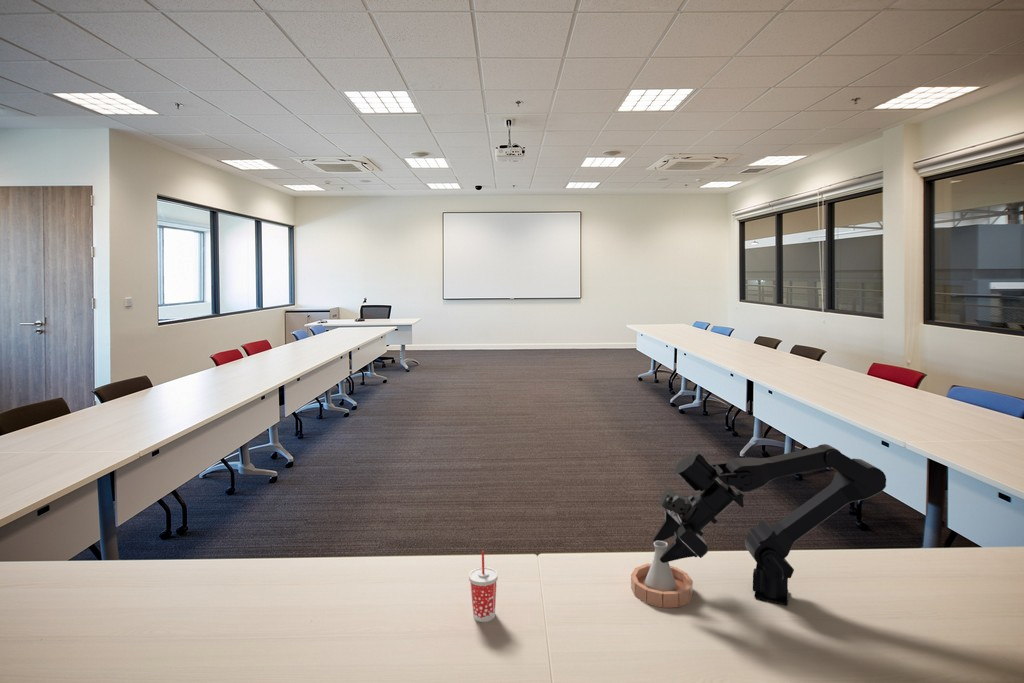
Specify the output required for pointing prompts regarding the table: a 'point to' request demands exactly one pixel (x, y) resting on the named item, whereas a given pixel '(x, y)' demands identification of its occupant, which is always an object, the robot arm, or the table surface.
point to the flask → (660, 571)
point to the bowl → (659, 597)
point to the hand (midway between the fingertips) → (657, 551)
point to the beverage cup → (483, 592)
